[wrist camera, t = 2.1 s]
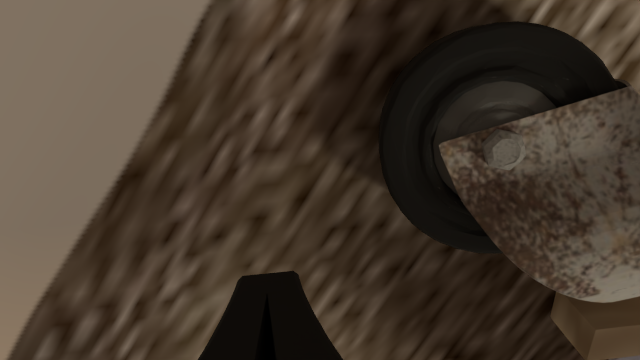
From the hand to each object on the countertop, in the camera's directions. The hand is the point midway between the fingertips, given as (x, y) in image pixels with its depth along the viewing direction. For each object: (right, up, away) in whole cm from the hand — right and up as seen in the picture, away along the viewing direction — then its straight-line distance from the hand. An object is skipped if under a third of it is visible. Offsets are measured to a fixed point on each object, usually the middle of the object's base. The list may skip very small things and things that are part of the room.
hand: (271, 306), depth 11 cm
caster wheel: (+9, +5, +9) cm, 13 cm away
